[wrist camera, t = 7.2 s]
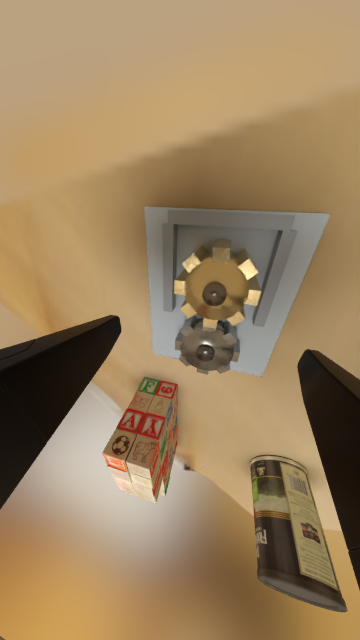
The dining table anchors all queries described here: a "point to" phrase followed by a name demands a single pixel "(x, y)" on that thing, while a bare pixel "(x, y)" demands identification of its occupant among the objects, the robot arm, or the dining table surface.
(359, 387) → the robot arm
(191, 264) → the brass gear
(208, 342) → the gear
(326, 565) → the coffee can
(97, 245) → the dining table surface
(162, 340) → the gear board
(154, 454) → the stack of blocks
